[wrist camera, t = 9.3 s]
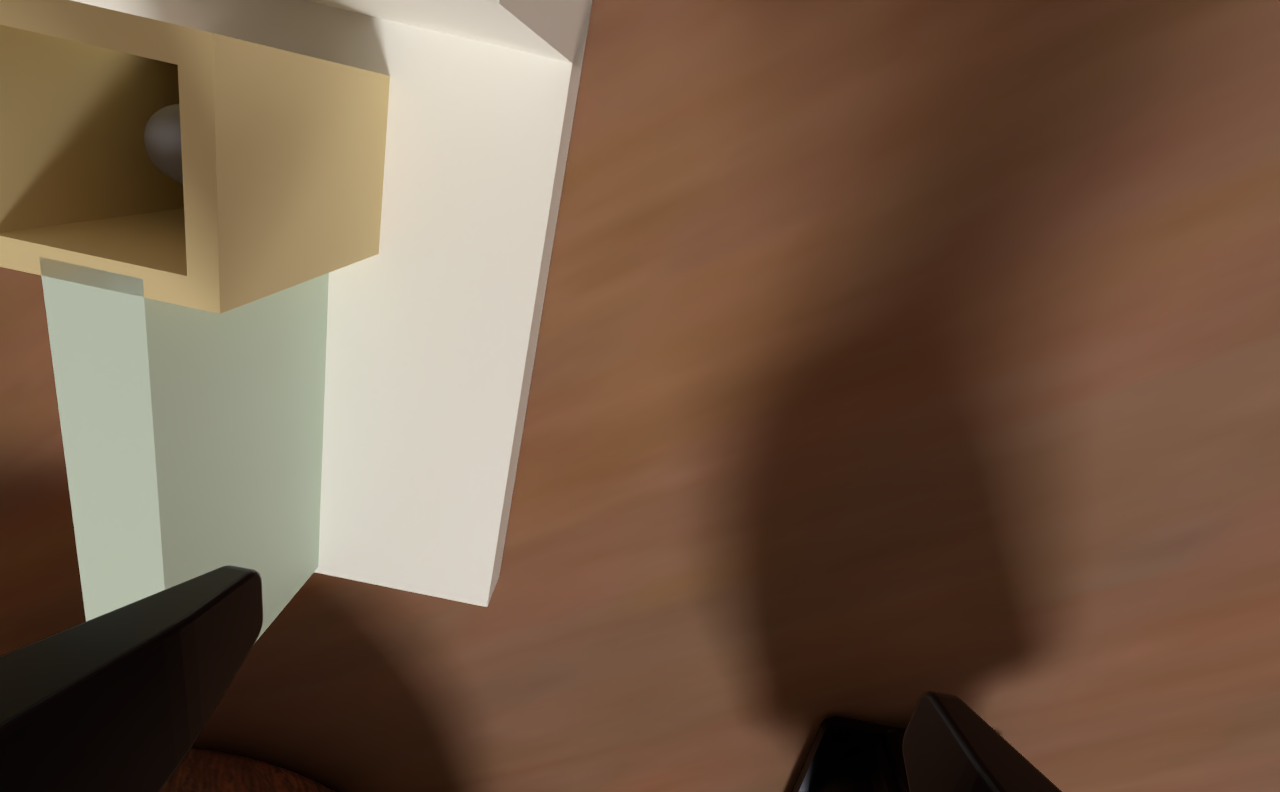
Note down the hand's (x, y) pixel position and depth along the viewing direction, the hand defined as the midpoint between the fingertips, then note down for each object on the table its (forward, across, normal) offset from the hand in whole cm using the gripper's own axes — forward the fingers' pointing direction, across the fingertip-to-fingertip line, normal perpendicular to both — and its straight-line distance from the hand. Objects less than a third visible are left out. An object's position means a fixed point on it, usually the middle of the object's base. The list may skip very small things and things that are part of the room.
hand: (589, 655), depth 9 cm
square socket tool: (+9, +9, 0) cm, 12 cm away
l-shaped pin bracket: (+10, +9, -2) cm, 14 cm away
